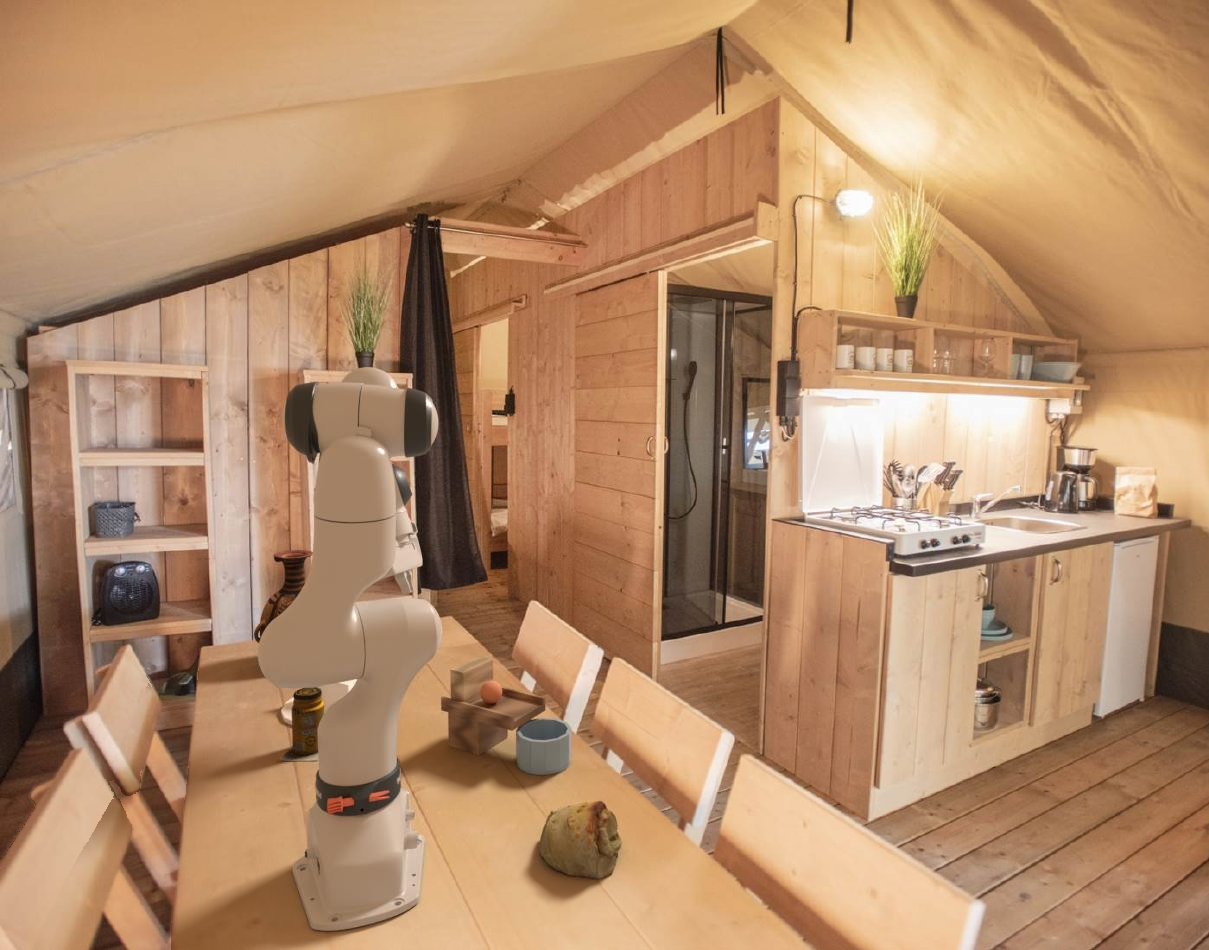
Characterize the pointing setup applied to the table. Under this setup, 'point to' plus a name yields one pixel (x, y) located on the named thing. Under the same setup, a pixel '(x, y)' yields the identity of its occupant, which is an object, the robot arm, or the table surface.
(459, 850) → the table surface
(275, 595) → the vase
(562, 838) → the pastry
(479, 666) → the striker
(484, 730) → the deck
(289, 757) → the condiment
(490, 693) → the ball
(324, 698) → the dish
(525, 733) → the cup
